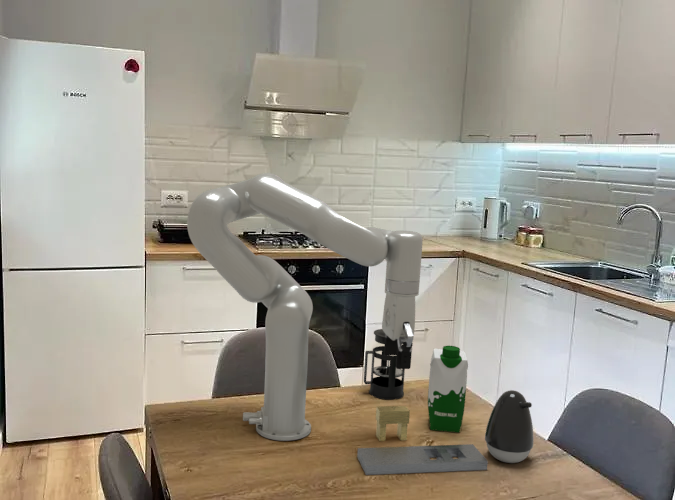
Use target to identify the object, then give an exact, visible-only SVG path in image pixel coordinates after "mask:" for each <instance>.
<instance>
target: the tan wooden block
mask: <svg viewBox="0 0 675 500" xmlns="http://www.w3.org/2000/svg"><path fill="white" fill-rule="evenodd" d="M375 409H376V411H375V420H376V430H375V437H376V438H377V440H378V441H379V442H386V434H387V425H397V427H396V436H397V437H398V439H399V441H407V439H408V438H407V437H408V424H410V417H411V416H410V413H411V411H410V409H409V408H408V407H407V405H387V406H385V405H384V406H381V405H380V406H379V405H378V406H376V408H375Z"/></svg>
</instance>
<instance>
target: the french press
mask: <svg viewBox="0 0 675 500" xmlns="http://www.w3.org/2000/svg"><path fill="white" fill-rule="evenodd" d="M373 335H374V341H375V342H376V343H378V344H381V345H380V346H375V347H373V348H372V350H366V351H365V354H364V369H363V370H364V371H363V383H364V385H370V388H369V390H368V393H369V395H370V396H372V397H374V398H375V399H376V398H377V399H379V400H386V401H387V400H388V401H392V400H393V401H394V400H399V399H402V398H403V397H404V395H405V393H404V385H405V374H406V373H405V370H406V369H397V368H396V356H397V355H385V354H384V345H385V338H386V337H385V332H384V331H383V330H382V328H380V329H375V330H373ZM400 337H405V336H400ZM401 342H402V344H403V343H404V342H405V341H401ZM398 351H399V349H398ZM379 352H381V353H379ZM369 354H371V355H372V356H371V370H370V381H368V380H367V377H368V376H367V373H368V372H367V370H368V358H369V356H368V355H369ZM375 358H376V359H378V360H380V365H378V366H375ZM374 375H375V376H374ZM400 377H401V379H400Z"/></svg>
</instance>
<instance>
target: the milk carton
mask: <svg viewBox="0 0 675 500" xmlns="http://www.w3.org/2000/svg"><path fill="white" fill-rule="evenodd" d="M429 365H430V368H429V376H428V377H429V379H428V391H427V413H428V420H429V429H430V431H438V432H439V431H440V432H448V433H450V432H451V433H461V429H462V424H463V419H464V415H465V414H464V413H465V405H466V396H467V395H466V394H467V380H468V370H469V369H468V367H469V366H468V365H469V364H468V357H467V353H466V352H465V350H461V349H460V347H458V346H456V345H443V347H442V348H433V351H432V355H431V359H430V363H429Z"/></svg>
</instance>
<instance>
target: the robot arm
mask: <svg viewBox="0 0 675 500" xmlns="http://www.w3.org/2000/svg"><path fill="white" fill-rule="evenodd" d="M259 214H261V215H264V216H266V217H268V218H269V219H271V220H274V221H275V222H278V223H280V224H282V225H284V226H286V227H289V228H290V229H292V230H293V231H296V232H298V233H300V234H302V235H305V237H307V238H309V239H311V240H312V241H314V242H316V243H318V244H320V245H321V246H323V247H325V248H327V249H328V250H330V251H332V252H334V253H336V254H338V255H340V256H342V257H344V258H346V259H348V260H350V261H352V262H354V263H356V264H359V265H361V266H364V267H376V266H378V265H380V264H381V263H383V262H384V261H386V269H385V279H384V280H385V284H384V293H385V298H384V305H383V315H382V324H381V329H382V330H383V331H384V332H385V337H386V338H385V344H383V346H384V354H385V355H390V356H396V368H397V369H401V370H402V369H405V370H409V369H411V366H412V365H411V364H412V355H413V354H412V352H413V346H414V343H413V342H414V341H413V340H414V336H415V326H416V325H415V324H416V297H417V296H419V292H420V279H421V268H422V265H421V264H422V255H423V241H424V240H423V237H422V235H421V233H419V232H416V231H411V230H390V229H389V230H388V229H382V228H378V227H371V226H369V227H364V226H362V225H360V224H358V223H356V222H353V220H350V219H348V218H346V217H344V216H343V215H341V214H340V213H338V212H337V211H335V210H334V209H333V208H332V207H331V206H330V205H328V204H327V203H326V201H323V200H322V199H321V198H319V197H318V196H317V197H316V196H314V195H312V194H310V193H308V192H306V191H304V190H301V189H300V188H298V187H296V186H293V185H291V184H290V183H288V182H285V181H284V180H283V179H282V177H280V176H279V175H277V174H275V173H272V172H264V173H259V174H257V175H255V176H253V177H251V178H248V179H246V180H242V181H238V182H235V183H231V184H228V185H224V186H220V187H217V188H212V189H211V188H210V189H208V190H205V191H203V192H201V193H200V194H198V195H197V196H196V197H195V199H194V200H193V201H192V203H191V204H190V207H189V210H188V214H187V221H186V227H187V232H188V237H189V239H190V241H191V243H192V245H193V246H194V248H195V249H196V250H197V251H198V253H199V254H200V255H201V256H202V257H203V258H204V259H205V260H206V261H207V262H208V263H209V264H210V265H211V267H213V269H214V270H215V271H217V272H218V274H219V275H220V276H221V277H222V279H224V280H225V281H226V282H227V283H228V284H229V285H230V286H231V287H232V288H233V290H235V291H236V292H237V294H238V295H239V296H240V297H241V298H242V299H244V300H245V301H247V302H249V303H253V304H254V303H255V304H256V303H262V304H263V305H264V306H265V307H266V308H267V312H266V316H265V322H264V323H265V324H264V325H265V328H264V329H265V330H264V331H265V361H264V365H265V369H264V371H265V372H264V390H263V391H264V392H263V393H264V396H263V406H261V408H260V410H257V411H256V412H249V411H248V412H247V411H246V412H244V411H243V413H242V421H243V422H248V424H249V425H255V430H256V432H257V434H259V435H260V436H262V437H264V438H266V439H269V440H274V441H282V442H283V441H284V442H286V441H297V440H300V439H303V438H305V437H307V436H309V435H310V433H311V431H312V424H311V422H309V421H308V420H307V419H306V399H307V380H308V377H307V376H308V359H309V358H308V357H309V330H310V329H309V328H310V321H311V318H312V315H313V310H314V306H313V300H312V299H311V296H310V295H309V293H308V292H307V291H306V290H305V289H304V288H303V287H302V285H300V283H298V281H296V280H295V279H294V277H292V275H291V274H289V273H288V271H286V269H285V268H284V267H283V266H282V265H280V264H279V263H278V262H277V261H276V260H275V259H273V258H272V257H269V256H267V255H262V254H261V255H260V254H259V255H256V254H255V253H254V252H252V250H250V248H249V247H248V246H247V245H246V244H245V242H244V241H242V239H240V238H239V237H237V236H236V235H235V234H234V233H232V231H231V230H230V229H229V226H228V225H229V224H230V223H233V222H236V221H239V220H242V219H247V218H250V217H254V216H256V215H259ZM400 336H405V337H400ZM401 341H404V343H403V344H402V342H401ZM398 349H399V351H398Z"/></svg>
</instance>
